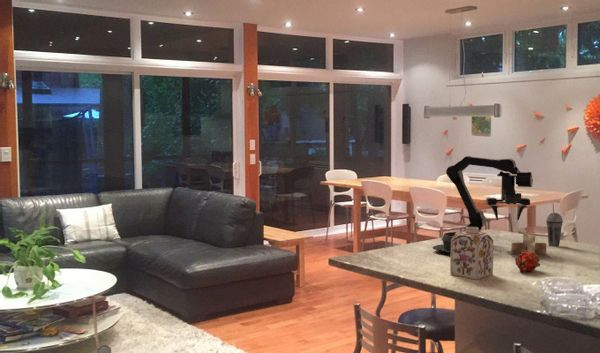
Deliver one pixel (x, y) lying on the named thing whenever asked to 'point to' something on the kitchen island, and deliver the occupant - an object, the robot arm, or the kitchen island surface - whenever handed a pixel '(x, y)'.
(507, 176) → the robot arm
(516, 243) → the walnut board
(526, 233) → the upright wooden plank
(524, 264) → the dragon fruit
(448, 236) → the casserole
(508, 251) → the rubber mat
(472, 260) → the decorative jar
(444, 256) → the kitchen island surface
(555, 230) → the beverage cup
